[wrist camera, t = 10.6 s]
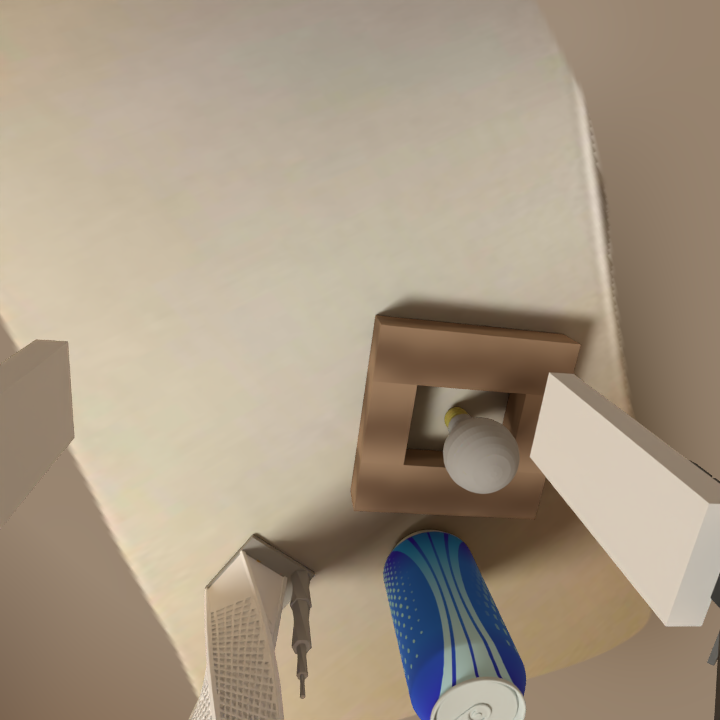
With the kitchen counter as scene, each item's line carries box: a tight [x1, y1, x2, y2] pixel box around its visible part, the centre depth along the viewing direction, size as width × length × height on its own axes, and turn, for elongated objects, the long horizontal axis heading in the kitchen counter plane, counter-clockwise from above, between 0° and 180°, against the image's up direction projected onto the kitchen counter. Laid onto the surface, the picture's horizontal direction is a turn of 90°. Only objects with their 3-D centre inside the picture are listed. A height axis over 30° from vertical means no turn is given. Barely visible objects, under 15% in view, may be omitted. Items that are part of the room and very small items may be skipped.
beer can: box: [383, 530, 526, 720], centre depth 45 cm, size 8×8×16 cm
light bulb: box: [443, 407, 520, 494], centre depth 43 cm, size 6×6×10 cm
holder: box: [351, 315, 581, 519], centre depth 46 cm, size 16×16×3 cm
